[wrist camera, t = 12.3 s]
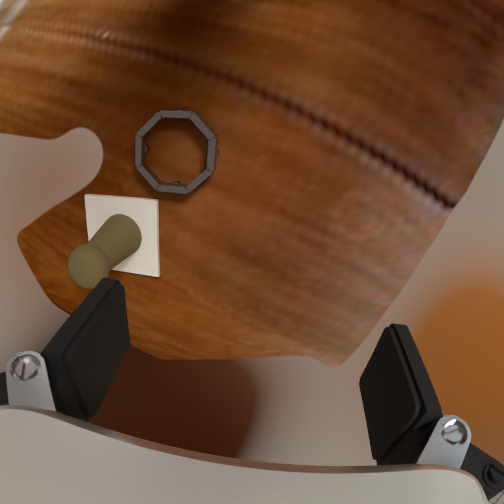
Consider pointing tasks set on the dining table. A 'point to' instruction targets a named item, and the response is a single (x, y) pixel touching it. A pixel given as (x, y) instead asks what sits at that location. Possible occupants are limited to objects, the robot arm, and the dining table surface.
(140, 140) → the ring stand
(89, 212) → the plate
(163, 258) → the dining table surface
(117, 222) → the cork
